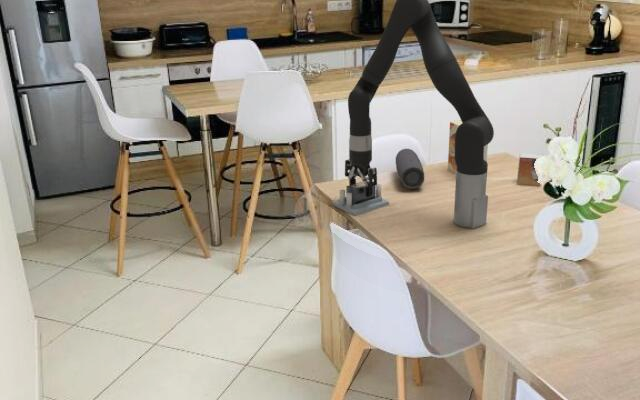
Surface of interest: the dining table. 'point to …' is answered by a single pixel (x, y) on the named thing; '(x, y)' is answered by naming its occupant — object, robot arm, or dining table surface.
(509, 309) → the dining table surface
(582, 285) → the dining table surface
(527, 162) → the small box
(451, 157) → the coffeecake box
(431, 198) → the dining table surface
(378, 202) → the pin tray
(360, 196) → the block
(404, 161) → the bluetooth speaker
